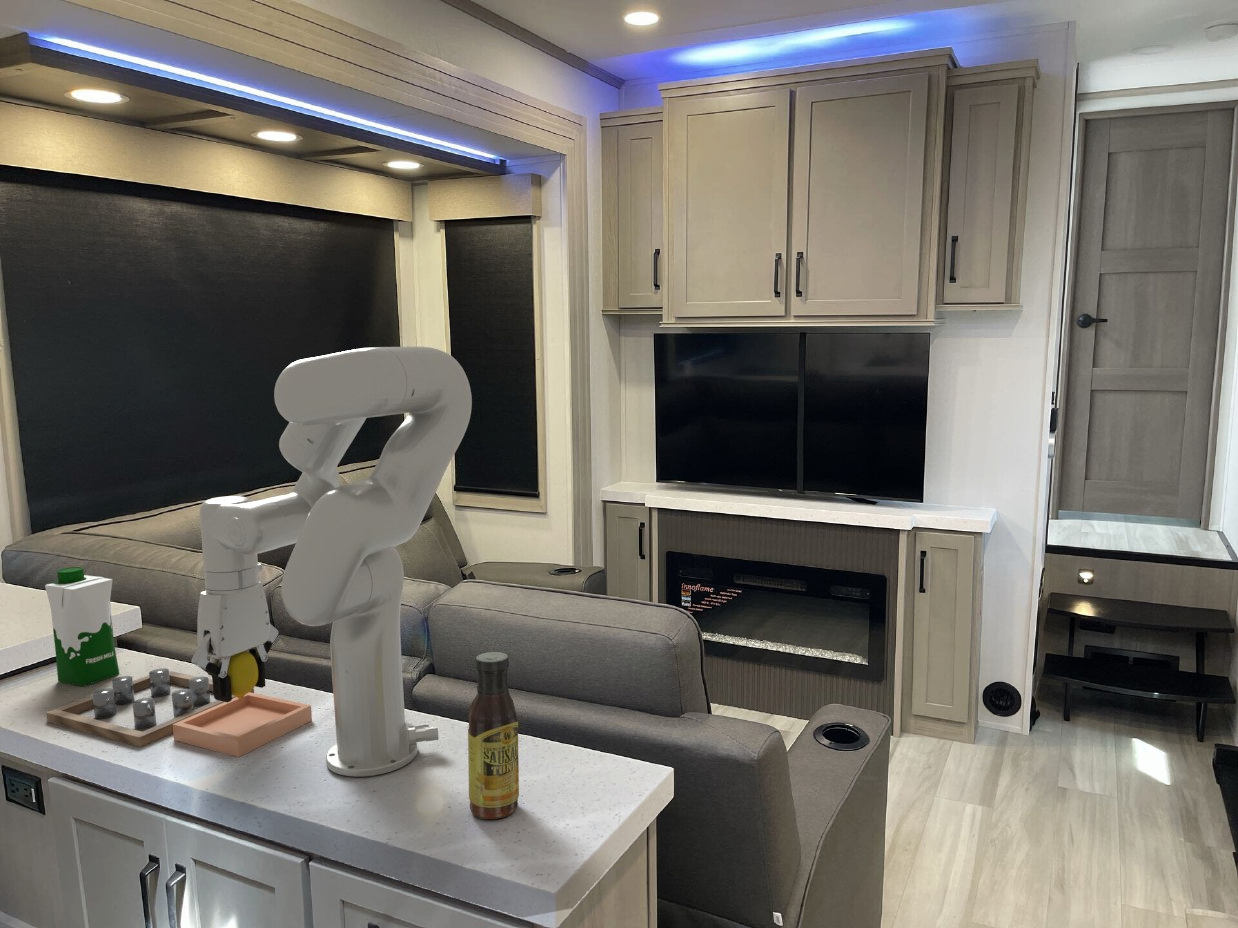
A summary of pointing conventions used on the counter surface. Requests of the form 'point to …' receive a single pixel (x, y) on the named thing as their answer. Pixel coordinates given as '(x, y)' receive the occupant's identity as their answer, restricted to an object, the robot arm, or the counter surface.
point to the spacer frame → (70, 719)
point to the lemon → (242, 673)
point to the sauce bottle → (493, 741)
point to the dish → (242, 723)
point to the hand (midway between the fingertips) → (240, 691)
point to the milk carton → (82, 627)
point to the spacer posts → (145, 706)
